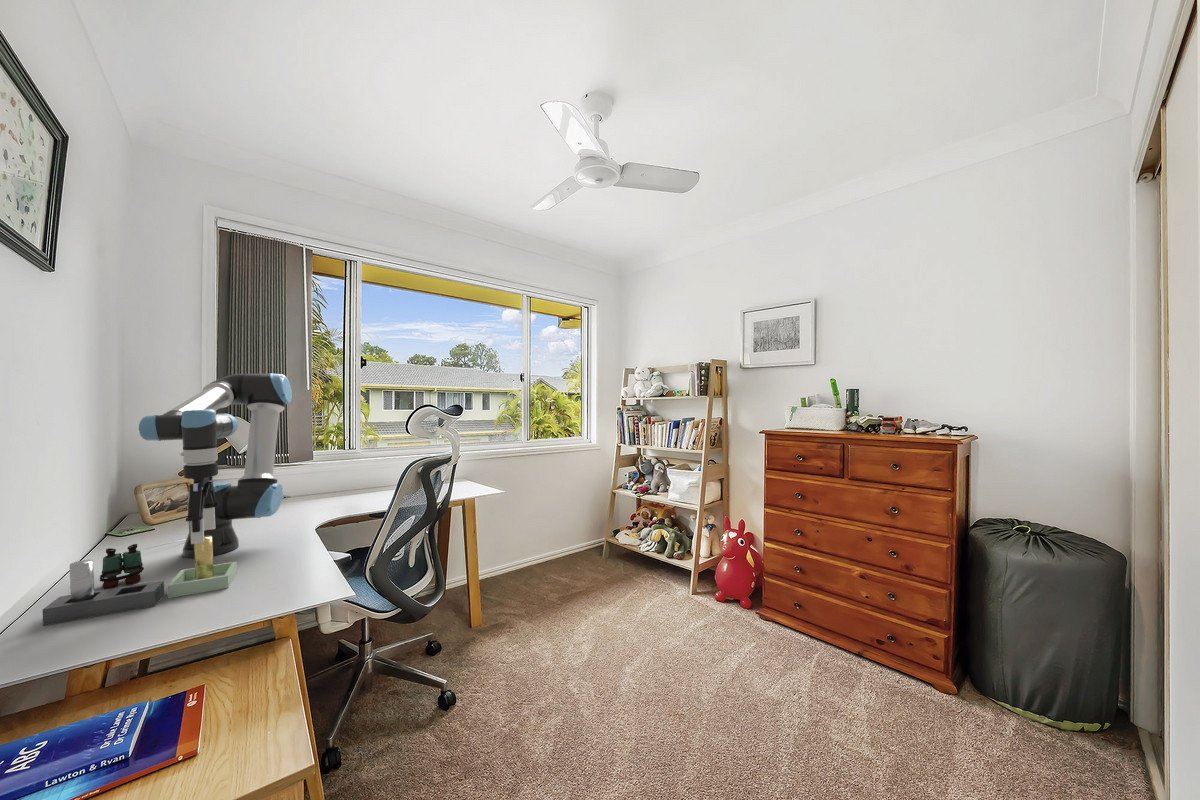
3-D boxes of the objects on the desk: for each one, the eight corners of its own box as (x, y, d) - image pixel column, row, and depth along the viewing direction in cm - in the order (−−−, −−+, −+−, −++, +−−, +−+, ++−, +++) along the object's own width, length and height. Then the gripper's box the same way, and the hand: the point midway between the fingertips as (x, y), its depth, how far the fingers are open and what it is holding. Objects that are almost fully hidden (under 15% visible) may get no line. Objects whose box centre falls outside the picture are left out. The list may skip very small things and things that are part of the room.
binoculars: (98, 559, 129) (100, 547, 136) (99, 596, 130) (101, 582, 137) (143, 551, 135) (143, 540, 143) (144, 586, 136) (144, 573, 144)
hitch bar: (60, 612, 119) (59, 596, 119) (164, 594, 129) (164, 580, 129) (43, 625, 112) (42, 609, 112) (154, 606, 122) (154, 590, 122)
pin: (76, 612, 119) (74, 561, 119) (98, 608, 121) (96, 558, 121) (68, 618, 116) (66, 566, 115) (90, 614, 118) (89, 563, 117)
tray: (181, 581, 138) (181, 569, 138) (236, 572, 144) (236, 561, 144) (167, 598, 127) (167, 585, 127) (228, 587, 133) (228, 575, 133)
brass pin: (197, 581, 136) (196, 536, 136) (215, 578, 138) (213, 534, 138) (193, 586, 133) (192, 540, 132) (211, 583, 135) (210, 538, 134)
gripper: (195, 458, 144) (198, 526, 144) (170, 471, 122) (173, 551, 123) (226, 456, 147) (228, 522, 148) (207, 468, 126) (210, 546, 126)
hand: (203, 536), depth 135 cm, fingers open, 13 cm apart
